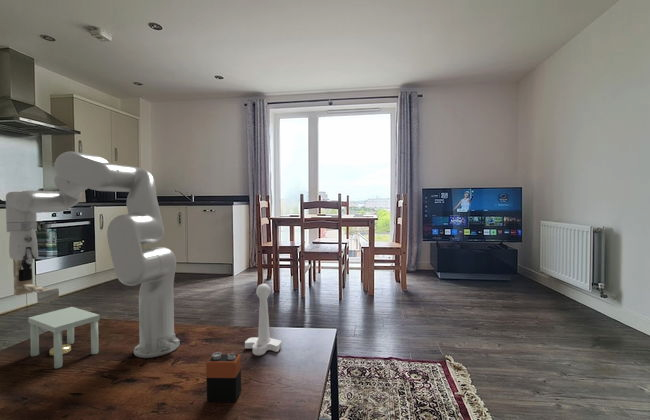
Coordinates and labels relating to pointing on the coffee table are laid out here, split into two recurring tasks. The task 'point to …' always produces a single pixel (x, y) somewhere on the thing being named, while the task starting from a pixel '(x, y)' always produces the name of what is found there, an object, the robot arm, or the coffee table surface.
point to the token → (65, 349)
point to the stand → (59, 323)
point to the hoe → (32, 286)
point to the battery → (223, 377)
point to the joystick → (263, 326)
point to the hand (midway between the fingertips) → (23, 279)
